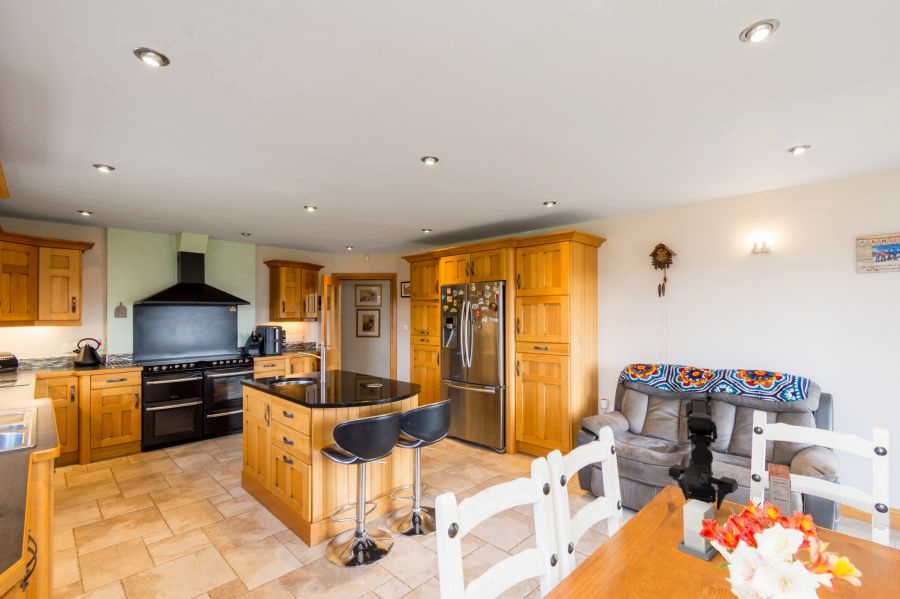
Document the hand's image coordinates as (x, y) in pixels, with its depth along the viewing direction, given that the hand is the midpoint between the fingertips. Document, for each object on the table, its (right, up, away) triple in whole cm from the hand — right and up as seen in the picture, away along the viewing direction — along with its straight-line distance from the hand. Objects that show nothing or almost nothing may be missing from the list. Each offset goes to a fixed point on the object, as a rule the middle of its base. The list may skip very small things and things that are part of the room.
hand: (702, 504), depth 138 cm
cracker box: (+31, -13, +8) cm, 35 cm away
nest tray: (-2, -13, -2) cm, 13 cm away
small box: (-2, -13, -2) cm, 13 cm away
